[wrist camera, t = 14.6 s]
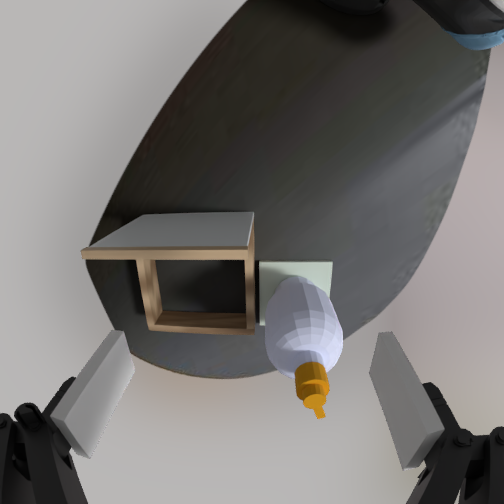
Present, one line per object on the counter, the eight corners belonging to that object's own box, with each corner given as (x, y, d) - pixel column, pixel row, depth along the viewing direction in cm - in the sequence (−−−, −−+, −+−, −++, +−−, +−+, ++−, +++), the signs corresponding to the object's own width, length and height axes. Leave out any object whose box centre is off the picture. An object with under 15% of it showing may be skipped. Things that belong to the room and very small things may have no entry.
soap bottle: (277, 328, 52) (282, 437, 30) (256, 279, 49) (249, 382, 27) (332, 309, 51) (368, 413, 28) (315, 258, 48) (354, 351, 25)
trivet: (259, 260, 49) (259, 262, 48) (331, 260, 49) (332, 261, 48) (259, 322, 53) (259, 325, 52) (325, 321, 53) (326, 324, 52)
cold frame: (143, 217, 48) (110, 237, 36) (253, 214, 47) (249, 234, 36) (157, 315, 54) (135, 353, 43) (255, 319, 53) (252, 361, 42)
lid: (142, 214, 48) (80, 250, 30) (254, 211, 47) (247, 249, 29) (142, 220, 48) (82, 258, 30) (255, 217, 47) (247, 259, 29)
